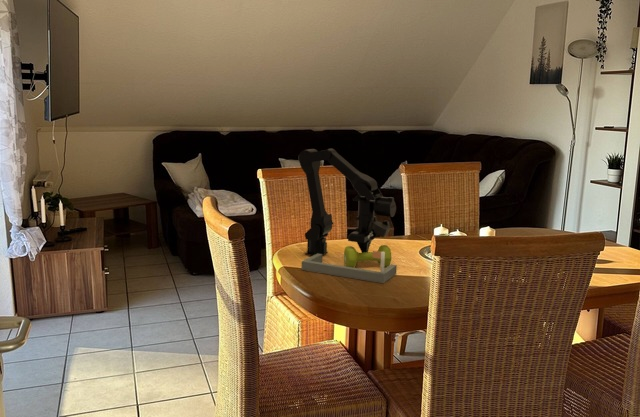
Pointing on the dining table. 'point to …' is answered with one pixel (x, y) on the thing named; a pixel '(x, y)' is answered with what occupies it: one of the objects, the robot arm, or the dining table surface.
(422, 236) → the dining table surface
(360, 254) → the dumbbell
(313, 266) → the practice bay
